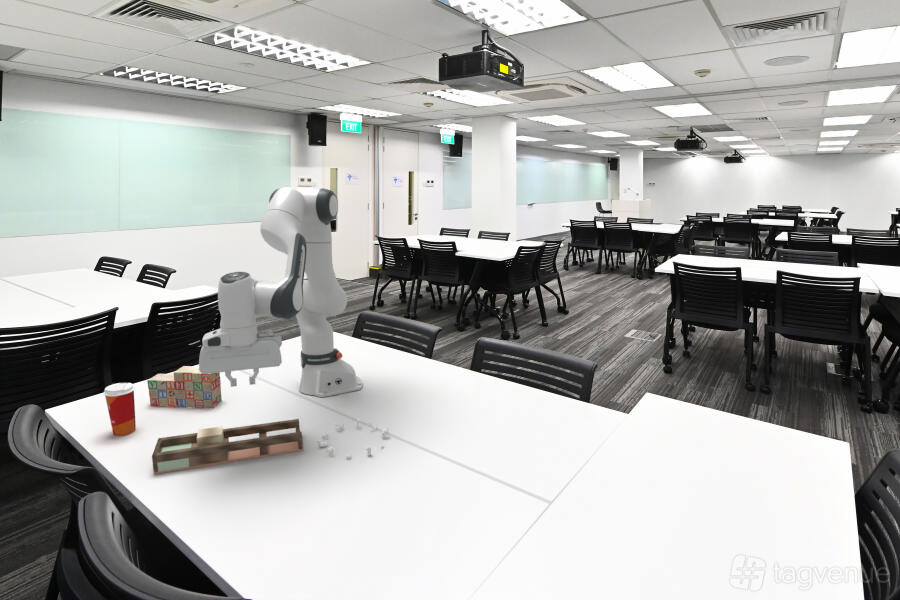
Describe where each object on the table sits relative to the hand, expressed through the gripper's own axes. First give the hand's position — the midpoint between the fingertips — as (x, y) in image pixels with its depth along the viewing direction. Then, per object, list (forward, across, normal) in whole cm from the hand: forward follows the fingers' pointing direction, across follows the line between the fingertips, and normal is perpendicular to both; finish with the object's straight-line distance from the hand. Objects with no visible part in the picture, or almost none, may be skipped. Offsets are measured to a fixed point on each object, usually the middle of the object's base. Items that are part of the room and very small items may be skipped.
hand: (243, 384), depth 136 cm
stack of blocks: (+20, +19, -40) cm, 49 cm away
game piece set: (+20, -28, +5) cm, 35 cm away
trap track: (+19, +4, 0) cm, 20 cm away
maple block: (+16, +9, 0) cm, 18 cm away
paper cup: (+19, +34, -24) cm, 46 cm away
